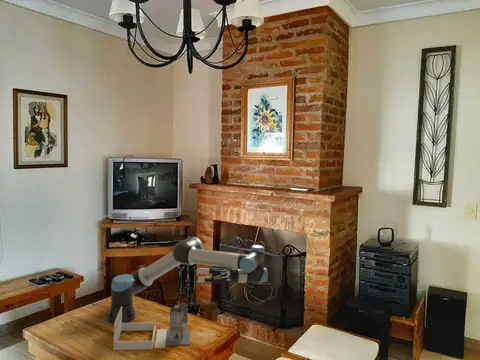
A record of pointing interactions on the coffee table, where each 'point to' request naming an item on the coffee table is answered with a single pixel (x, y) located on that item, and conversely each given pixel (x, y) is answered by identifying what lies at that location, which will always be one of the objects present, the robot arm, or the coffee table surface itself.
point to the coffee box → (178, 322)
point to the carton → (134, 327)
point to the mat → (184, 342)
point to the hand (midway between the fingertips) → (197, 275)
